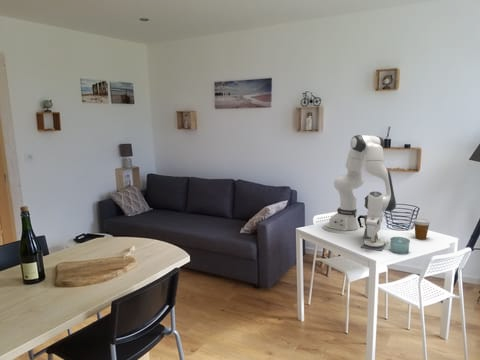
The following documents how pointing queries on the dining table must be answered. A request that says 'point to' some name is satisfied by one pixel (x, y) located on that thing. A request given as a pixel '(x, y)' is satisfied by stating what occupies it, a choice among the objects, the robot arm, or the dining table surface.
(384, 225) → the dining table surface
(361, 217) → the coffeepot
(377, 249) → the mat
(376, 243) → the lid
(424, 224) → the disposable coffee cup
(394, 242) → the crock
